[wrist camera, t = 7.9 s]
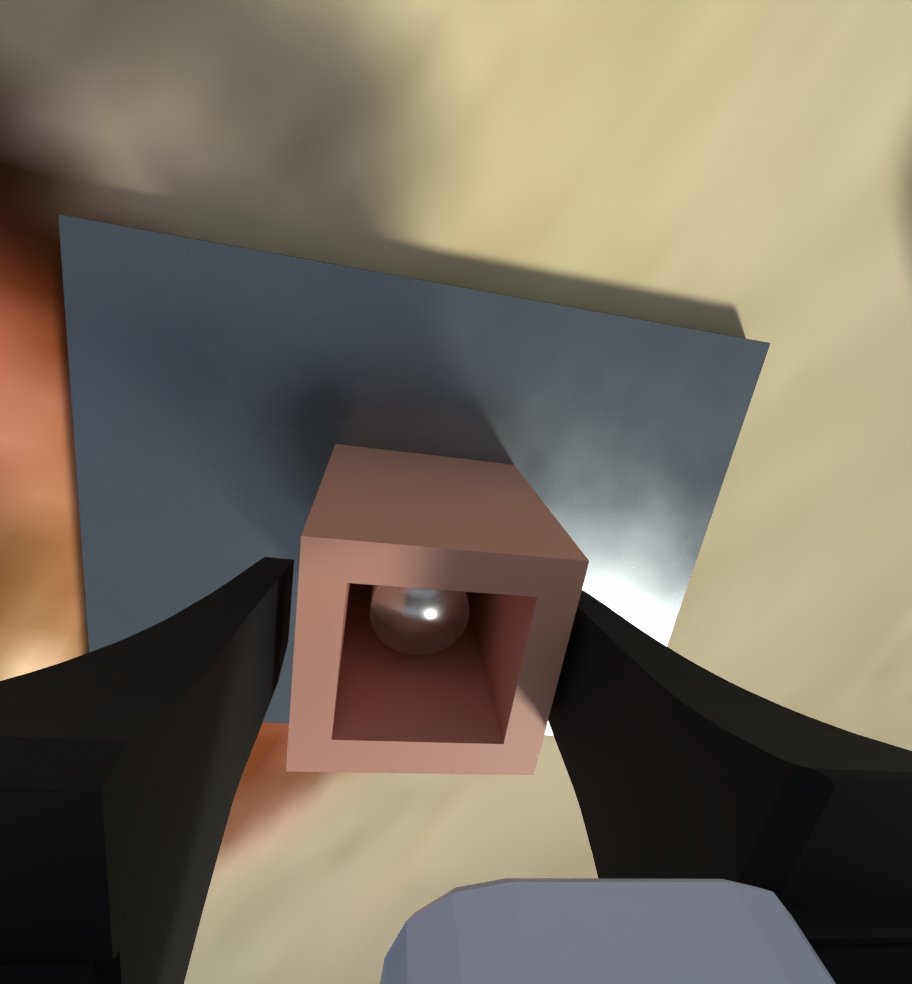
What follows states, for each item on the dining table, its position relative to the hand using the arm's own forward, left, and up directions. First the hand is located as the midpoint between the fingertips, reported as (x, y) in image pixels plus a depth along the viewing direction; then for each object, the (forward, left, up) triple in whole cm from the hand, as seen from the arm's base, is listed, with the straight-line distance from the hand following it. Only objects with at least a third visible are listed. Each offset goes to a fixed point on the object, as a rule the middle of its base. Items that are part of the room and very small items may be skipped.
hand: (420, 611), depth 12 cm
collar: (0, 0, -4) cm, 4 cm away
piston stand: (0, 0, -5) cm, 5 cm away
